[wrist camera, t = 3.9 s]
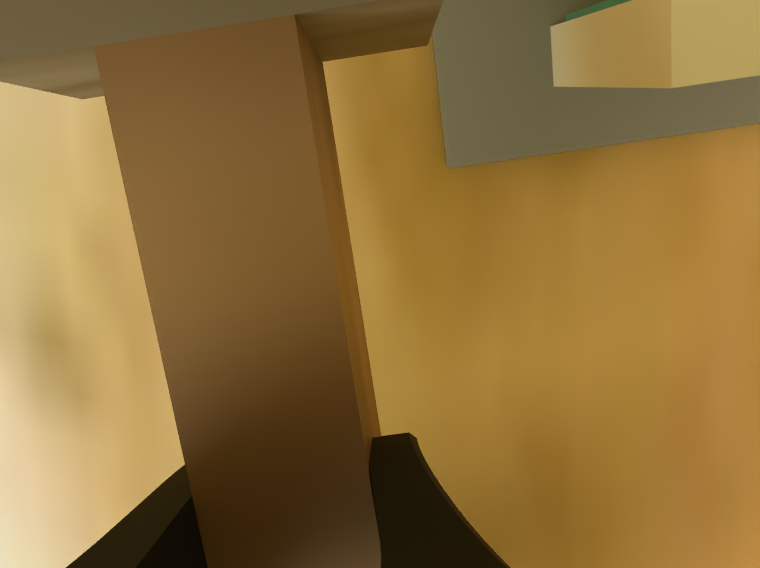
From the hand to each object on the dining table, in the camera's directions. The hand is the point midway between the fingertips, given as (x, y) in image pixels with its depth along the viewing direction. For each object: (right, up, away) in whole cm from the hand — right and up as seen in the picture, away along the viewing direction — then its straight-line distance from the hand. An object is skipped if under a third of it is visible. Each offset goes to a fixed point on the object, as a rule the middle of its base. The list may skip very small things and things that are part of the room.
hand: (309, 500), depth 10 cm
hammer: (0, +2, +2) cm, 2 cm away
